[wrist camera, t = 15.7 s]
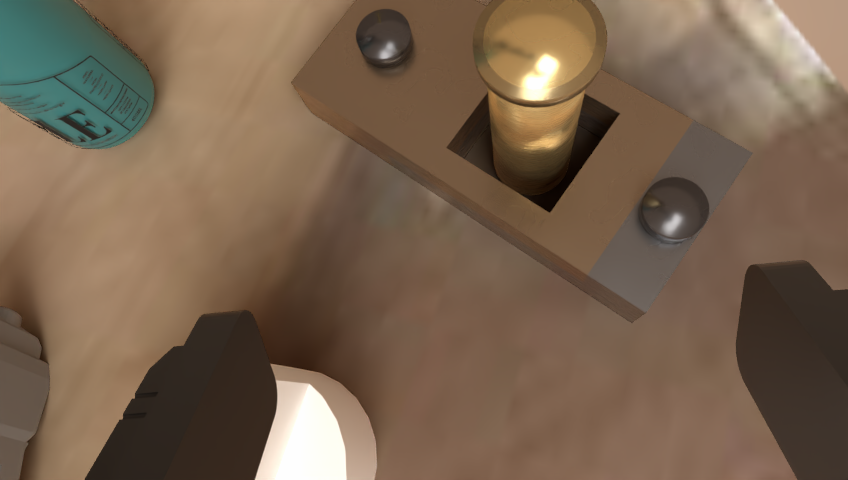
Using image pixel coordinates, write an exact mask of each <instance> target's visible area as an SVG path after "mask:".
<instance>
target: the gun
mask: <svg viewBox="0 0 848 480" xmlns="http://www.w3.org/2000/svg"><path fill="white" fill-rule="evenodd" d="M21 322H22V317H21V316H20V315H19V314H18V313H17V312H16V311H14V310H12V309H10V308H6V307H2V306H0V480H19V478H20V473H21V467H22V462H23V456H24V451H25V449H26V447H27V445H28V444H29V443H27V441H28V440H29V439H30V438H31V437H32V436H33V435H35V434H36V431H37V428H38V425H39V421H40V418H41V415H42V412H43V409H44V405H45V402H46V399H47V396H48V393H49V386H50V376H49V364H47V363H46V362H44V361H42V360H40V354H41V349H42V347H41V345H40V342H39V340H38V338H37V337H35V336H34V335H32V334H30V333H29V332H27V331H26V330H25V329H23V328H22V327H21Z"/></svg>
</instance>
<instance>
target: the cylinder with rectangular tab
mask: <svg viewBox="0 0 848 480" xmlns="http://www.w3.org/2000/svg"><path fill="white" fill-rule="evenodd" d="M271 367H272V370H273V373H274V376H275V379H276V384H277V409H276V414H275V418H274V421H273V424H272V427H271V430H270V433H269V437H268V440H267V443H266V446H265V449H264V452H263V456H262V459H261V462H260V465H259V468H258V471H257V475H256V478H255V480H374V479H375V474H376V469H377V455H376V440H375V437H374V433H373V430H372V427H371V424H370V420H369V418H368V416H367V414H366V413H365V411H364V409H363V408H362V406H361V405H360V403H359V401H358V400H357V398H356V397H355V396H354V395H353V394H352V393H350V392H349V391H348V390H347V389H346V388H345V387H344V386H343V385H342V384H341V383H339V382H338V381H336V380H334V379H332V378H330V377H328V376H326V375H324V374H322V373H319V372H314V371H309V370H304V369H299V368H293V367H287V366H281V365H276V364H271Z"/></svg>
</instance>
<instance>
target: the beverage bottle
mask: <svg viewBox="0 0 848 480" xmlns="http://www.w3.org/2000/svg"><path fill="white" fill-rule="evenodd" d="M81 6H83V4H82V5H81ZM83 7H84V6H83ZM84 8H85V7H84ZM84 8H83V9H84ZM83 9H82V8H81V7H80V6H79V5H78V4H77V3H76V2H74V1H73V0H0V102H2V103H3V104H5V105H7V106H9V107H10V108H9V110H10V109H14V110H16V111H17V112H18V113H21V114H22V115H24V116H26V117H28V118H29V119H31V121H33V122H35V123H37V124H39V125H41V126H42V127H43V128H42V127H40V126H38V125H37V126H38V127H39V128H42V130H43V129H44V131H45V130H46V129H47V130H49V131H50V132H53V133H54V134H55V135H56V136H57V135H58V136H60V137H61V138H63V139H65V140H66V141H68V142H71V143H73V144H75V145H76V146H80V147H84V148H82V149H106V148H111V147H114V146H117V145H119V144H121V143H123V142H125V141H127V140H128V139H130V138H131V137H132V136H134V135H135V134H136V133H137V132H138V131H139V130H140V128H141V127H142V126H143V125H144V123H145V122H146V120H147V119H148V117H149V115H150V112H151V110H152V107H153V102H154V85H153V82H152V79H151V77H150V75H149V73H148V71H149V69H148V70H147V69H146V67H145V66H144V64H143V63H142V62H143V61H142V60H143V59H142V60H139V59H141V58H139V59H138V57H136V56H138V54H135V55H136V56H135V55H133V53H131V52H132V51H131V50H130V51H131V52H130V51H129V50H128V49H127V47H126V46H127V44H124V45H125V46H123V44H121V43H122V42H123V41H122V40H121V41H122V42H121V43H120V42H119V40H120V39H119V40H117V39H116V38H117V35H115V34H113V35H115V36H116V37H113V36H112V35H111V34H110V33H109V32H108V31H107V30H108V28H107V27H106V26H105V25H104V24H103V25H104V27H105V29H104V28H103V27H102V26H101V25H100V24H99V23H98V22H97V21H96V20H98V21H99V19H96V18H95V19H96V20H94V19H93V18H92V17H91V15H89V14H88V13H87V12H86V11H84V10H85V9H84V10H83ZM93 16H94V17H96V16H95V15H93ZM106 28H107V30H106ZM109 30H110V29H109ZM111 32H112V31H111ZM133 52H134V51H133ZM141 61H142V62H141ZM145 64H146V63H145ZM146 66H147V65H146ZM147 68H148V67H147ZM13 113H14V112H13ZM14 114H15V113H14ZM16 115H17V114H16ZM18 116H19V115H18ZM20 117H21V116H20ZM21 118H22V117H21ZM23 119H24V118H23ZM27 121H28V120H27ZM28 122H30V121H28ZM31 123H32V122H31ZM33 124H34V123H33ZM35 126H36V124H35ZM45 128H46V129H45ZM47 130H46V132H48V131H47ZM49 134H50V133H49ZM51 135H52V134H51ZM53 136H54V135H53ZM56 136H55V137H56ZM58 136H57V138H58V139H60V138H59V137H58ZM61 140H62V139H61ZM65 140H64V141H65ZM65 143H67V142H65ZM68 144H70V143H68ZM73 144H72V145H73ZM77 148H79V147H77Z"/></svg>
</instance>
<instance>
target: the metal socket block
mask: <svg viewBox="0 0 848 480" xmlns="http://www.w3.org/2000/svg"><path fill="white" fill-rule="evenodd" d="M485 8H486V6H485V5H483V4H482V3H480V2H478V1H476V0H356V1H355V3H354V4H353V5H352V6H351V8H350V9H349V10H348V11H347V13H346V14H345V15H344V16H343V18H342V19H341V20H340V21H339V23H338V24H337V25H336V26H335V28H334V29H333V30H332V32H331V33H330V34H329V35H328V37H327V38H326V39H325V40H324V42H323V43H322V44H321V45H320V47H319V48H318V49H317V50H316V52H315V53H314V54H313V55H312V57H311V58H310V59H309V61H308V62H307V63H306V64H305V66H304V67H303V68H302V69H301V71H300V72H299V73H298V74H297V76H296V77H295V78H294V79H293V81H292V82H291V84H292V85H293V86H294V88H295V89H296V91H297V92H298V94H299V95H300V97H301V98H302V99H303V101H304V102H305V104H306V105H307V107H308V108H309V109H310V111H311V112H312V113H313V114H314V115H316V116H318V117H319V118H321V119H322V120H324V121H325V122H327V123H328V124H330V125H331V126H333V127H334V128H336V129H337V130H339V131H340V132H342V133H343V134H345V135H346V136H348V137H350V138H351V139H353V140H354V141H356V142H357V143H359V144H360V145H362V146H363V147H365V148H366V149H368V150H369V151H371V152H372V153H374V154H375V155H377V156H378V157H380V158H381V159H383V160H385V161H386V162H388V163H389V164H391V165H392V166H394V167H395V168H397V169H398V170H400V171H401V172H403V173H404V174H406V175H407V176H409V177H410V178H412V179H413V180H415V181H417V182H418V183H420V184H421V185H423V186H424V187H426V188H427V189H429V190H430V191H432V192H433V193H435V194H436V195H438V196H439V197H441V198H442V199H444V200H445V201H447V202H448V203H450V204H452V205H453V206H455V207H456V208H458V209H459V210H461V211H462V212H464V213H465V214H467V215H468V216H470V217H471V218H473V219H474V220H476V221H477V222H479V223H480V224H482V225H484V226H485V227H487V228H488V229H490V230H491V231H493V232H494V233H496V234H497V235H499V236H500V237H502V238H503V239H505V240H506V241H508V242H509V243H511V244H512V245H514V246H515V247H517V248H519V249H520V250H522V251H523V252H525V253H526V254H528V255H529V256H531V257H532V258H534V259H535V260H537V261H538V262H540V263H541V264H543V265H544V266H546V267H547V268H549V269H551V270H552V271H554V272H555V273H557V274H558V275H560V276H561V277H563V278H564V279H566V280H567V281H569V282H570V283H572V284H573V285H575V286H576V287H578V288H579V289H581V290H582V291H584V292H586V293H587V294H589V295H590V296H592V297H593V298H595V299H596V300H598V301H599V302H601V303H602V304H604V305H605V306H607V307H608V308H610V309H611V310H613V311H614V312H616V313H618V314H619V315H621V316H622V317H624V318H625V319H627V320H628V321H630V322H631V323H633V322H634V321H635V320H637V319H638V318H640V317H641V316H642V315H644V314H645V313H646V312H647V311H648V309H649V308H650V306H651V305H652V303H653V302H654V300H655V299H656V297H657V296H658V294H659V293H660V291H661V290H662V288H663V287H664V285H665V284H666V282H667V281H668V279H669V278H670V276H671V275H672V273H673V272H674V270H675V269H676V267H677V266H678V264H679V263H680V261H681V260H682V258H683V257H684V255H685V254H686V252H687V251H688V249H689V248H690V246H691V245H692V243H693V242H694V240H695V239H696V237H697V236H698V234H699V233H700V231H701V230H702V228H703V227H704V225H705V224H706V222H707V221H708V219H709V218H710V216H711V215H712V213H713V212H714V210H715V209H716V207H717V206H718V204H719V203H720V201H721V200H722V198H723V197H724V195H725V194H726V192H727V191H728V189H729V188H730V186H731V185H732V183H733V182H734V180H735V179H736V177H737V176H738V174H739V173H740V171H741V170H742V168H743V167H744V165H745V164H746V162H747V161H748V159H749V158H750V156H751V155H752V152H750V151H748V150H747V149H745V148H743V147H741V146H739V145H738V144H736V143H734V142H732V141H730V140H728V139H727V138H725V137H723V136H721V135H719V134H718V133H716V132H714V131H712V130H710V129H708V128H707V127H705V126H703V125H701V124H699V123H698V122H696V121H694V120H692V119H690V118H688V117H687V116H685V115H683V114H681V113H679V112H678V111H676V110H674V109H672V108H670V107H669V106H667V105H665V104H663V103H661V102H659V101H658V100H656V99H654V98H652V97H650V96H649V95H647V94H645V93H643V92H641V91H639V90H638V89H636V88H634V87H632V86H630V85H629V84H627V83H625V82H623V81H621V80H620V79H618V78H616V77H614V76H612V75H610V74H609V73H607V72H605V71H603V70H601V69H600V71H599V73H598V74H597V76H596V78H595V79H594V80H593V82H592V83H591V84H590V85H589V86H588V87H587V88H586V89H585V94H584V98H583V103H582V107H581V112H580V116H579V121H578V125H580V126H582V127H583V128H585V129H587V130H588V131H590V132H592V133H594V134H595V135H597V136H599V137H600V138H602V140H601V141H600V143H599V144H598V146H597V147H596V148H595V150H594V151H593V153H592V154H591V156H590V157H589V158H588V160H587V161H586V163H585V164H584V165H583V167H582V168H581V170H580V171H579V172H578V174H577V175H576V177H575V178H574V180H573V181H572V182H571V184H570V185H569V187H568V188H567V189H566V191H565V192H564V194H563V195H562V197H561V198H560V199H559V201H558V202H557V204H556V205H555V206H554V208H553V209H552V211H551V212H550V213H549V212H547V211H546V210H544V209H543V208H541V207H539V206H538V205H536V204H535V203H533V202H531V201H530V200H528V199H527V198H525V197H523V196H522V195H520V194H519V193H517V192H516V191H514V190H512V189H511V188H509V187H508V186H506V185H504V184H503V183H501V182H500V181H498V180H497V179H495V178H493V177H492V176H490V175H489V174H487V173H485V172H484V171H482V170H481V169H479V168H477V167H476V166H474V165H473V164H471V163H470V162H468V161H466V160H465V159H464V158H465V156H466V155H467V154H468V152H469V151H470V149H471V148H472V147H473V145H474V144H475V143H476V141H477V140H478V139H479V137H480V136H481V135H482V133H483V132H484V130H485V129H486V128H487V126H488V125H489V124H490V113H489V102H488V91H487V86H486V85H485V84H484V82H483V81H482V79H481V78H480V76H479V74H478V71H477V69H476V66H475V62H474V54H473V46H472V43H473V33H474V29H475V26H476V23H477V21H478V18H479V16H480V15H481V13H482V12H483V10H484V9H485Z"/></svg>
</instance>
